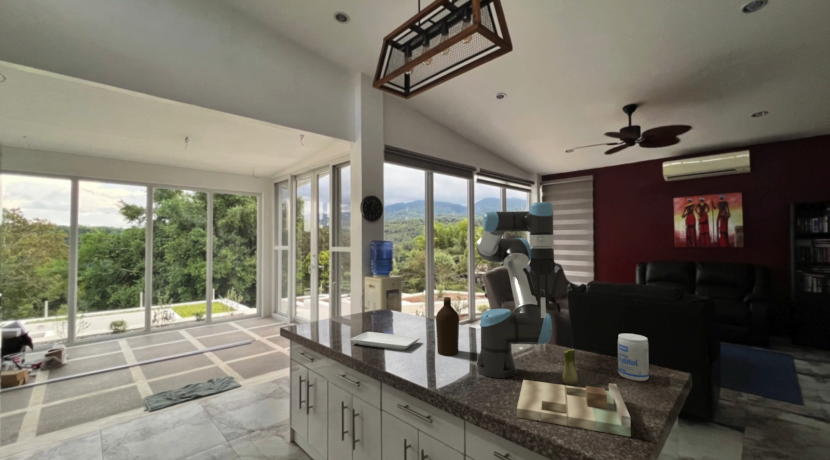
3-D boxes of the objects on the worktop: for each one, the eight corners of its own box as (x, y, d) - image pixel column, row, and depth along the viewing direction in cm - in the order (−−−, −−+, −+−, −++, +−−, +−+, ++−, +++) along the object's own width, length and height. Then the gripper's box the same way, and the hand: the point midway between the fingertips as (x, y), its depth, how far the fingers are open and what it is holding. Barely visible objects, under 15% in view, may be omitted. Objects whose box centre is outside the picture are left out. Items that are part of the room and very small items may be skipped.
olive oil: (440, 357, 151) (439, 299, 152) (433, 350, 161) (432, 296, 162) (463, 355, 153) (462, 298, 154) (455, 348, 163) (454, 295, 164)
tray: (366, 337, 185) (366, 330, 185) (421, 343, 173) (421, 336, 173) (349, 346, 170) (349, 338, 170) (407, 353, 157) (407, 345, 158)
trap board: (517, 417, 99) (516, 399, 99) (523, 387, 119) (523, 372, 119) (630, 436, 88) (630, 416, 88) (616, 400, 108) (616, 384, 109)
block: (587, 406, 99) (587, 392, 99) (586, 399, 104) (585, 385, 104) (607, 409, 97) (606, 395, 97) (604, 402, 102) (604, 388, 102)
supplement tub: (616, 377, 127) (614, 336, 127) (621, 370, 134) (619, 331, 135) (647, 384, 121) (646, 341, 121) (651, 376, 128) (649, 335, 128)
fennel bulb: (573, 381, 124) (572, 347, 124) (582, 386, 119) (581, 351, 119) (558, 382, 123) (557, 348, 123) (566, 388, 118) (566, 352, 118)
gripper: (521, 247, 117) (522, 318, 116) (562, 247, 112) (564, 321, 111) (523, 247, 124) (524, 313, 123) (562, 247, 119) (564, 316, 118)
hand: (543, 317), depth 117 cm, fingers closed
